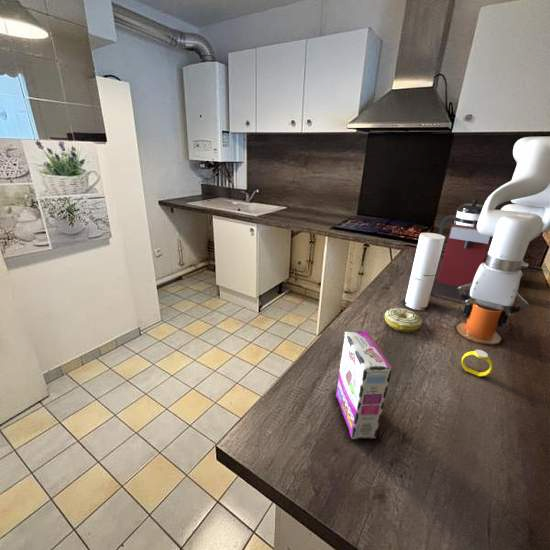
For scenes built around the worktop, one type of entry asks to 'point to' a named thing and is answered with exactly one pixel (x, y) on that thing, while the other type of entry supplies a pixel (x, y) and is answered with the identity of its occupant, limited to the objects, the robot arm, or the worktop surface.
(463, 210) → the coffee press
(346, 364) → the candy bar box
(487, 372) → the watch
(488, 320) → the cup
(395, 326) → the decorated donut
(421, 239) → the cylindrical container
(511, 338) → the worktop surface
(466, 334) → the coaster
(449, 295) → the coffee maker
